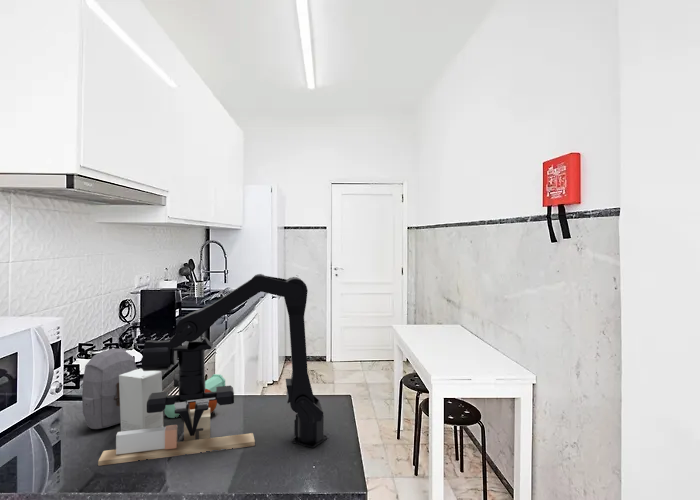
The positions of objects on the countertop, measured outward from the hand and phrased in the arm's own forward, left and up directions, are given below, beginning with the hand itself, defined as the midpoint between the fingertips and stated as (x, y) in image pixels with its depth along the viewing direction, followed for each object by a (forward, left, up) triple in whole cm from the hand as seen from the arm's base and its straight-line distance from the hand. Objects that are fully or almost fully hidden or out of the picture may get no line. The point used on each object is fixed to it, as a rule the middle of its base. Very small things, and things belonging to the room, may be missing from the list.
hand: (192, 435), depth 103 cm
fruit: (+14, -15, -4) cm, 21 cm away
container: (+23, -21, -4) cm, 32 cm away
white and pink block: (+6, +7, -2) cm, 10 cm away
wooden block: (+4, -5, -3) cm, 7 cm away
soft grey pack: (+29, +1, -4) cm, 30 cm away
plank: (+2, +2, -3) cm, 4 cm away
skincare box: (+17, +1, -4) cm, 18 cm away
